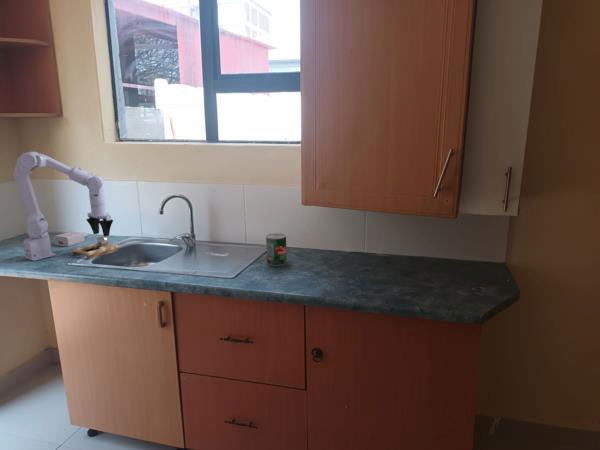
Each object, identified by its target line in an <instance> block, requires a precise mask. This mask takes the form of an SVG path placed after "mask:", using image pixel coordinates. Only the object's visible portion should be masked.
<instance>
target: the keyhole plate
mask: <svg viewBox="0 0 600 450" xmlns="http://www.w3.org/2000/svg"><path fill="white" fill-rule="evenodd" d="M71 250H72V251H71V252H72V256H78V255H84V256H86V259H87V260H91V259H96V258H99V257H103V256H106V255H110V254H112V253H116V252H120V251H119V245H117V244H113V243H109V242H108V244H106V246H104V247H101V245H98V244H97V242H96V243H92V244H90V245H89V244H88V245H85V246H82V247H80V246H79V247H78V248H73V249H71Z"/></svg>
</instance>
